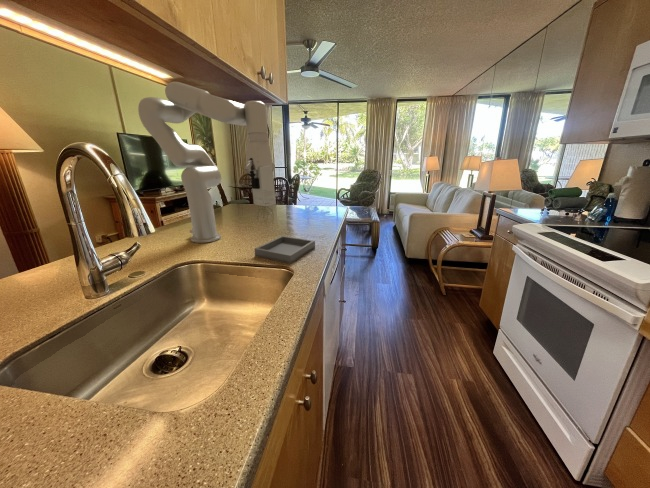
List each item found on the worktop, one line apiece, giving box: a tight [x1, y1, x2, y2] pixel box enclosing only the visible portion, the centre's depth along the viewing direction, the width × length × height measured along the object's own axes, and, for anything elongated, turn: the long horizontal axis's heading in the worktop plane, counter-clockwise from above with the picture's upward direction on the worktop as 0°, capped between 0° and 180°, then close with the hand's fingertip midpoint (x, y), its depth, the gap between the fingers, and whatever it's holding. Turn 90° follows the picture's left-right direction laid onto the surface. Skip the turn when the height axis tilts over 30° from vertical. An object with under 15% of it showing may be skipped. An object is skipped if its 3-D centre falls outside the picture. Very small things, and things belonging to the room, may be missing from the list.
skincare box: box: [251, 166, 277, 207], centre depth 103 cm, size 8×6×15 cm
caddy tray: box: [254, 235, 316, 265], centre depth 103 cm, size 16×18×3 cm
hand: (262, 187), depth 103 cm, fingers closed on skincare box, 7 cm apart
